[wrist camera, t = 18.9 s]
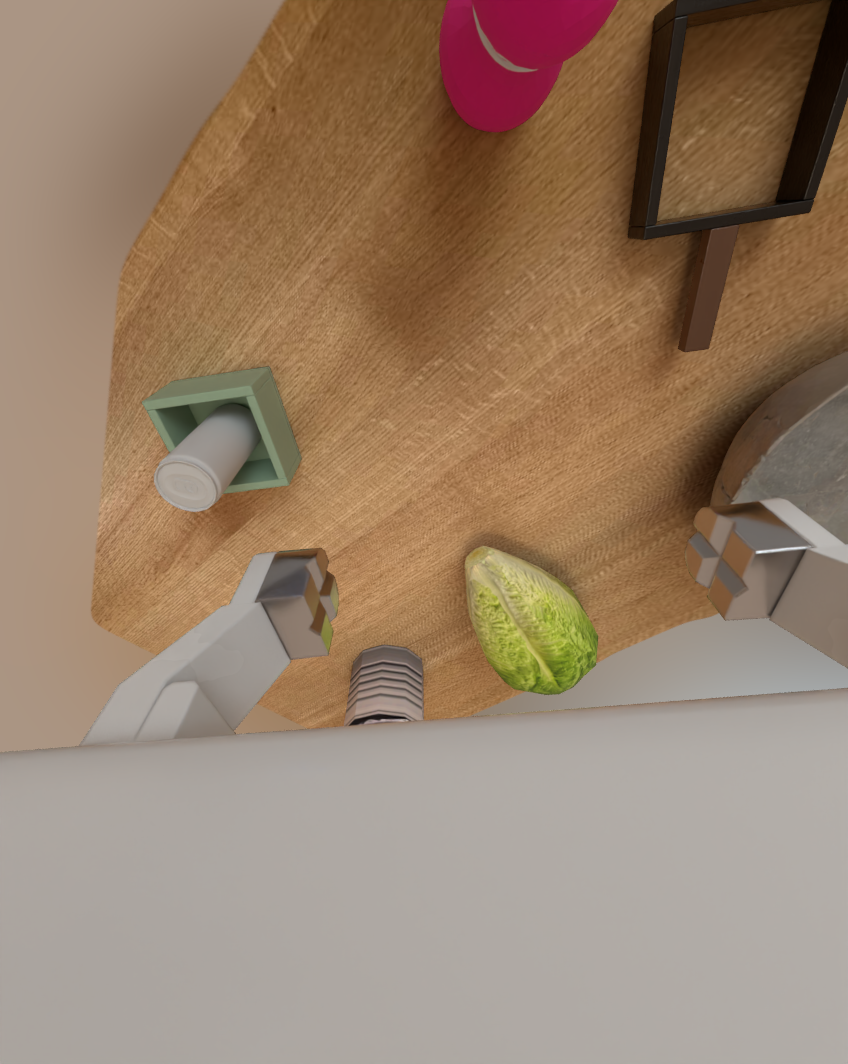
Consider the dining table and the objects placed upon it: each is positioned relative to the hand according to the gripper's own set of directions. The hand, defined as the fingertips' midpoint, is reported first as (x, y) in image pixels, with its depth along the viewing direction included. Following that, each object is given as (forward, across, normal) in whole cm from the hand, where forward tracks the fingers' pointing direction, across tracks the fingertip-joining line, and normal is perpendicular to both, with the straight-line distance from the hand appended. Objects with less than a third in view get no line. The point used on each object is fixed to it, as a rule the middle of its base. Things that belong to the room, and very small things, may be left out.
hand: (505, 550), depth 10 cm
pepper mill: (+33, -5, -13) cm, 36 cm away
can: (+34, +14, +50) cm, 62 cm away
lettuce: (+34, -6, +35) cm, 49 cm away
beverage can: (+33, +21, +8) cm, 40 cm away
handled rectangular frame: (+33, -21, -4) cm, 39 cm away
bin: (+33, +21, +8) cm, 40 cm away
